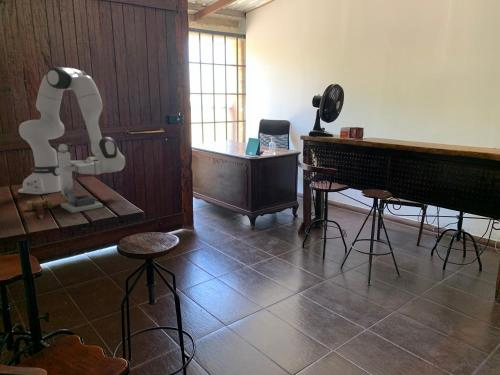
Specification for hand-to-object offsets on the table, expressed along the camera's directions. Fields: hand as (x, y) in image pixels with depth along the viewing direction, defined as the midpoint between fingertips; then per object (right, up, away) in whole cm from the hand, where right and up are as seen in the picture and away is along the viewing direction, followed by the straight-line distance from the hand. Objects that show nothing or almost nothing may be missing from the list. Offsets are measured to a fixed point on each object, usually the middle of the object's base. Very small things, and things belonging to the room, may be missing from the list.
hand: (63, 168), depth 183 cm
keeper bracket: (+10, -18, -3) cm, 21 cm away
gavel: (-4, -21, -13) cm, 25 cm away
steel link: (0, -12, +3) cm, 13 cm away
